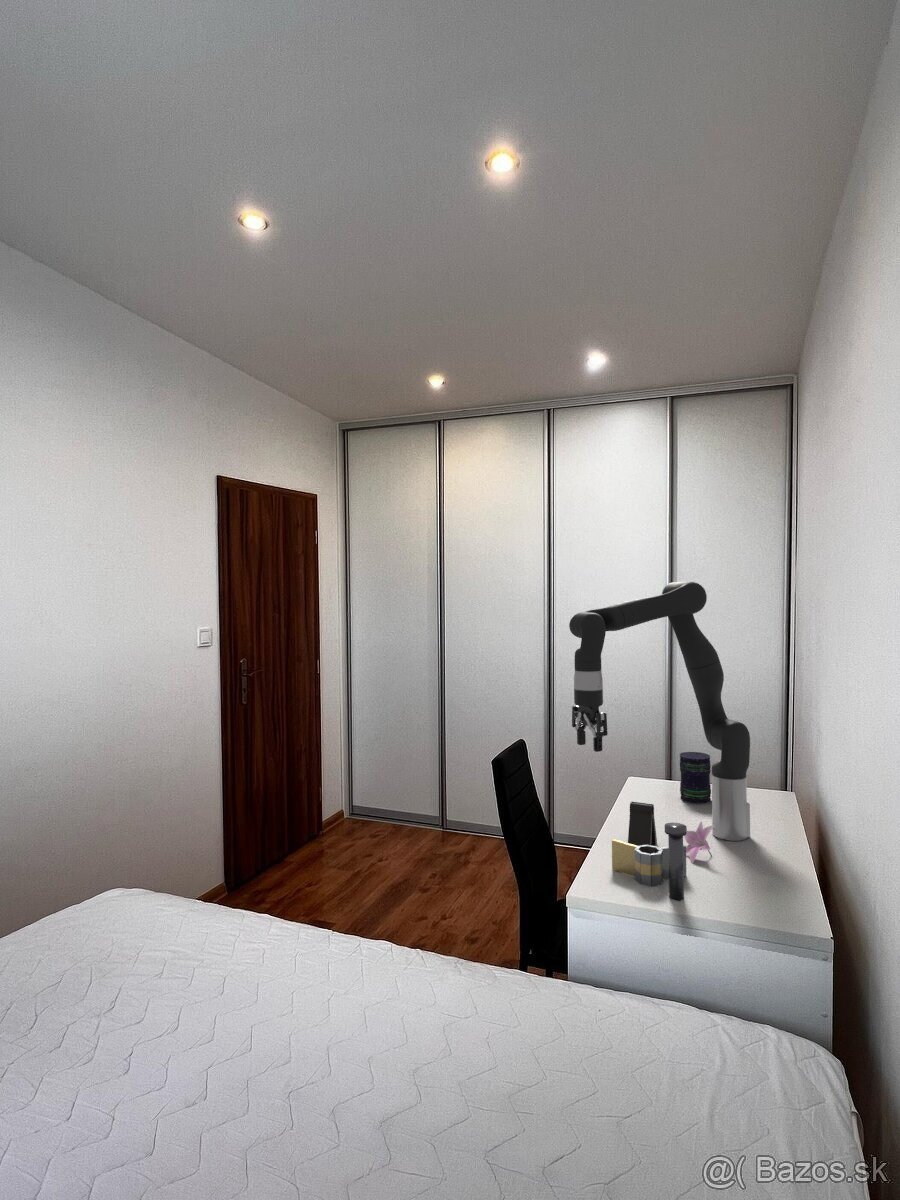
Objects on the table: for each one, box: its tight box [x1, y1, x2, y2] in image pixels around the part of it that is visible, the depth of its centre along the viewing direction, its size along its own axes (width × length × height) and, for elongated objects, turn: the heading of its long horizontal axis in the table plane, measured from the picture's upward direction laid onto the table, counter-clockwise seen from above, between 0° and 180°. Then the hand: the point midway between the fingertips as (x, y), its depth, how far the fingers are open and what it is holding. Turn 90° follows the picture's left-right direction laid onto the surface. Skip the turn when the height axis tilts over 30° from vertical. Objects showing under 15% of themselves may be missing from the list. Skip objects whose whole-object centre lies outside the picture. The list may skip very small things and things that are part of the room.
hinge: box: [611, 838, 687, 887], centre depth 168 cm, size 15×12×8 cm
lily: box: [683, 821, 714, 864], centre depth 178 cm, size 11×11×9 cm
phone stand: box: [627, 801, 658, 846], centre depth 186 cm, size 9×6×12 cm, turn 150°
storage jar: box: [679, 751, 712, 805], centre depth 227 cm, size 10×10×15 cm
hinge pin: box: [664, 822, 688, 902], centre depth 155 cm, size 5×5×16 cm
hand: (589, 747), depth 180 cm, fingers open, 8 cm apart
